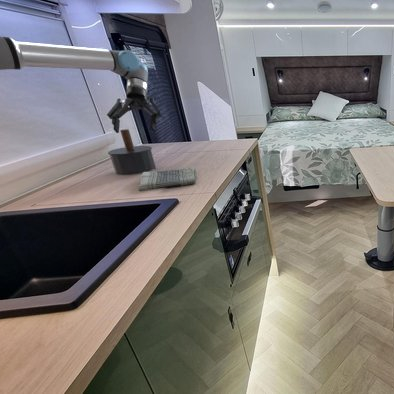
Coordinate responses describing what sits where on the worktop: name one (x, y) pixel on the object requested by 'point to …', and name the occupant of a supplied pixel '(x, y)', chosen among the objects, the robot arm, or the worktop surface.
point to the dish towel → (167, 178)
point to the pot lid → (128, 146)
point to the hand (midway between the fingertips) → (134, 130)
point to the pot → (133, 163)
